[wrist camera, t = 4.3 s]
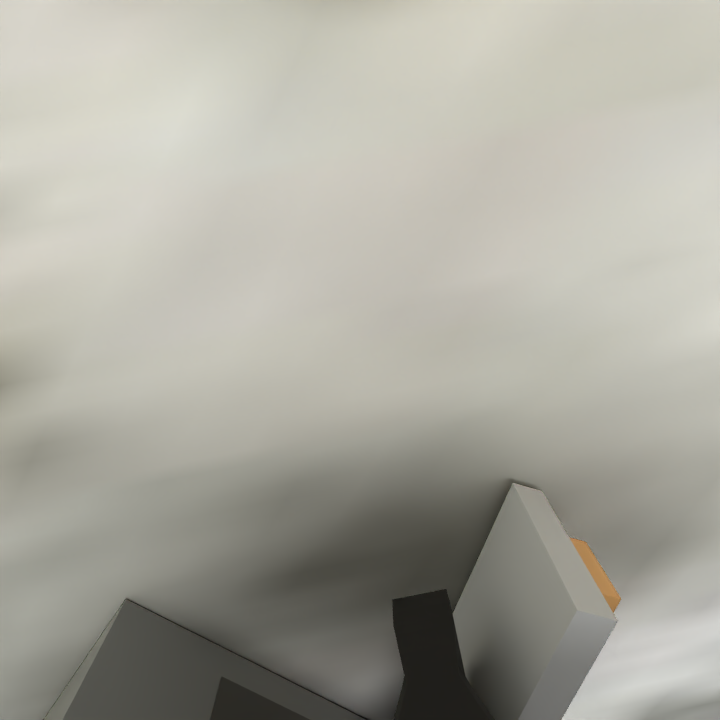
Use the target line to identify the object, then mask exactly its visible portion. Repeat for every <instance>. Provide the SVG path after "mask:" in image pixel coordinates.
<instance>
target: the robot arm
mask: <svg viewBox="0 0 720 720" xmlns="http://www.w3.org/2000/svg"><path fill="white" fill-rule="evenodd" d="M392 604H393V623H394V630H395V635H396V639H397V644H398V648H399V653H400V657H401V662H402V666H403V671H404V675H405V676H404V681H403V685H402V690H401V694H400V698H399V701H398V705H397V709H396V713H395V717H394V720H495V719H494V718H493V716H492V715H491V714H490V712H489V711H488V709H487V708H486V706H485V705H484V704H483V702H482V701H481V699H480V698H479V696H478V695H477V694H476V692H475V690H474V689H473V687H472V686H471V684H470V683H469V681H468V680H467V678H466V676H465V671H464V667H463V662H462V657H461V652H460V647H459V643H458V638H457V633H456V628H455V623H454V619H453V614H452V610H451V606H450V602H449V598H448V595H447V591H446V589H444V590H439V591H434V592H429V593H424V594H419V595H414V596H409V597H404V598H399V599H394V600H392Z"/></svg>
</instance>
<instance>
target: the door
mask: <svg viewBox="0 0 720 720" xmlns="http://www.w3.org/2000/svg"><path fill="white" fill-rule="evenodd" d="M620 600H621V598H620V596H619V594H618V593H617V591H616V590H615V588H614V586H613V585H612V583H611V582H610V580H609V578H608V577H607V575H606V574H605V572H604V570H603V569H602V567H601V565H600V564H599V562H598V561H597V559H596V557H595V556H594V554H593V553H592V551H591V549H590V548H589V546H588V544H587V543H586V542H584V541H581V540H577V539H573V538H570V537H569V536H568V535H567V533H566V531H565V529H564V528H563V526H562V524H561V523H560V521H559V519H558V517H557V516H556V514H555V512H554V511H553V509H552V507H551V505H550V504H549V502H548V500H547V498H546V497H545V495H544V493H543V492H542V491H540V490H537V489H533V488H530V487H526V486H523V485H519V484H515V483H512V485H511V488H510V490H509V492H508V494H507V496H506V499H505V501H504V503H503V505H502V507H501V509H500V512H499V514H498V516H497V518H496V520H495V523H494V525H493V527H492V529H491V531H490V533H489V536H488V538H487V540H486V542H485V544H484V547H483V549H482V551H481V553H480V555H479V557H478V560H477V562H476V564H475V566H474V568H473V571H472V573H471V575H470V577H469V579H468V581H467V584H466V586H465V588H464V590H463V592H462V595H461V597H460V599H459V601H458V603H457V605H456V608H455V610H454V612H453V619H454V623H455V628H456V633H457V638H458V643H459V647H460V652H461V657H462V662H463V667H464V671H465V676H466V678H467V680H468V681H469V683H470V684H471V686H472V687H473V689H474V690H475V692H476V694H477V695H478V696H479V698H480V699H481V701H482V702H483V704H484V705H485V706H486V708H487V709H488V711H489V712H490V714H491V715H492V716H493V718H494V719H495V720H561V719H562V717H563V716H564V714H565V712H566V710H567V709H568V707H569V705H570V703H571V702H572V700H573V698H574V696H575V695H576V693H577V691H578V689H579V688H580V686H581V684H582V682H583V681H584V679H585V677H586V675H587V674H588V672H589V670H590V668H591V667H592V665H593V663H594V661H595V660H596V658H597V656H598V655H599V653H600V651H601V649H602V648H603V646H604V644H605V642H606V641H607V639H608V637H609V635H610V634H611V632H612V630H613V628H614V627H615V625H616V623H617V621H618V620H617V619H616V617H615V615H614V611H615V609H616V607H617V606H618V604H619V602H620Z"/></svg>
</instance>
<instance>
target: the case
mask: <svg viewBox="0 0 720 720" xmlns="http://www.w3.org/2000/svg"><path fill="white" fill-rule="evenodd" d="M44 720H365V719H363V718H361V717H359V716H358V715H356V714H354V713H352V712H350V711H348V710H346V709H344V708H342V707H340V706H338V705H336V704H334V703H332V702H330V701H328V700H326V699H324V698H322V697H320V696H318V695H316V694H314V693H312V692H310V691H308V690H306V689H304V688H302V687H300V686H298V685H296V684H294V683H292V682H290V681H288V680H286V679H284V678H282V677H280V676H278V675H276V674H274V673H272V672H270V671H268V670H266V669H264V668H262V667H260V666H258V665H256V664H254V663H252V662H250V661H248V660H246V659H244V658H242V657H240V656H238V655H236V654H234V653H232V652H230V651H228V650H226V649H224V648H222V647H220V646H218V645H216V644H214V643H212V642H210V641H208V640H206V639H204V638H202V637H200V636H198V635H196V634H194V633H192V632H190V631H188V630H186V629H184V628H182V627H180V626H178V625H176V624H174V623H173V622H171V621H169V620H167V619H165V618H163V617H161V616H159V615H157V614H155V613H153V612H151V611H149V610H147V609H145V608H143V607H141V606H139V605H137V604H135V603H133V602H131V601H129V600H127V599H126V600H125V601H124V602H123V604H122V605H121V607H120V608H119V610H118V611H117V613H116V614H115V616H114V617H113V619H112V620H111V622H110V623H109V624H108V626H107V627H106V629H105V630H104V632H103V633H102V635H101V636H100V638H99V639H98V641H97V642H96V644H95V645H94V646H93V648H92V649H91V651H90V652H89V654H88V655H87V657H86V658H85V660H84V661H83V663H82V664H81V666H80V667H79V668H78V670H77V671H76V673H75V674H74V676H73V677H72V679H71V680H70V682H69V683H68V685H67V686H66V688H65V689H64V690H63V692H62V693H61V695H60V696H59V698H58V699H57V701H56V702H55V704H54V705H53V707H52V708H51V710H50V711H49V712H48V714H47V715H46V717H45V718H44Z"/></svg>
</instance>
